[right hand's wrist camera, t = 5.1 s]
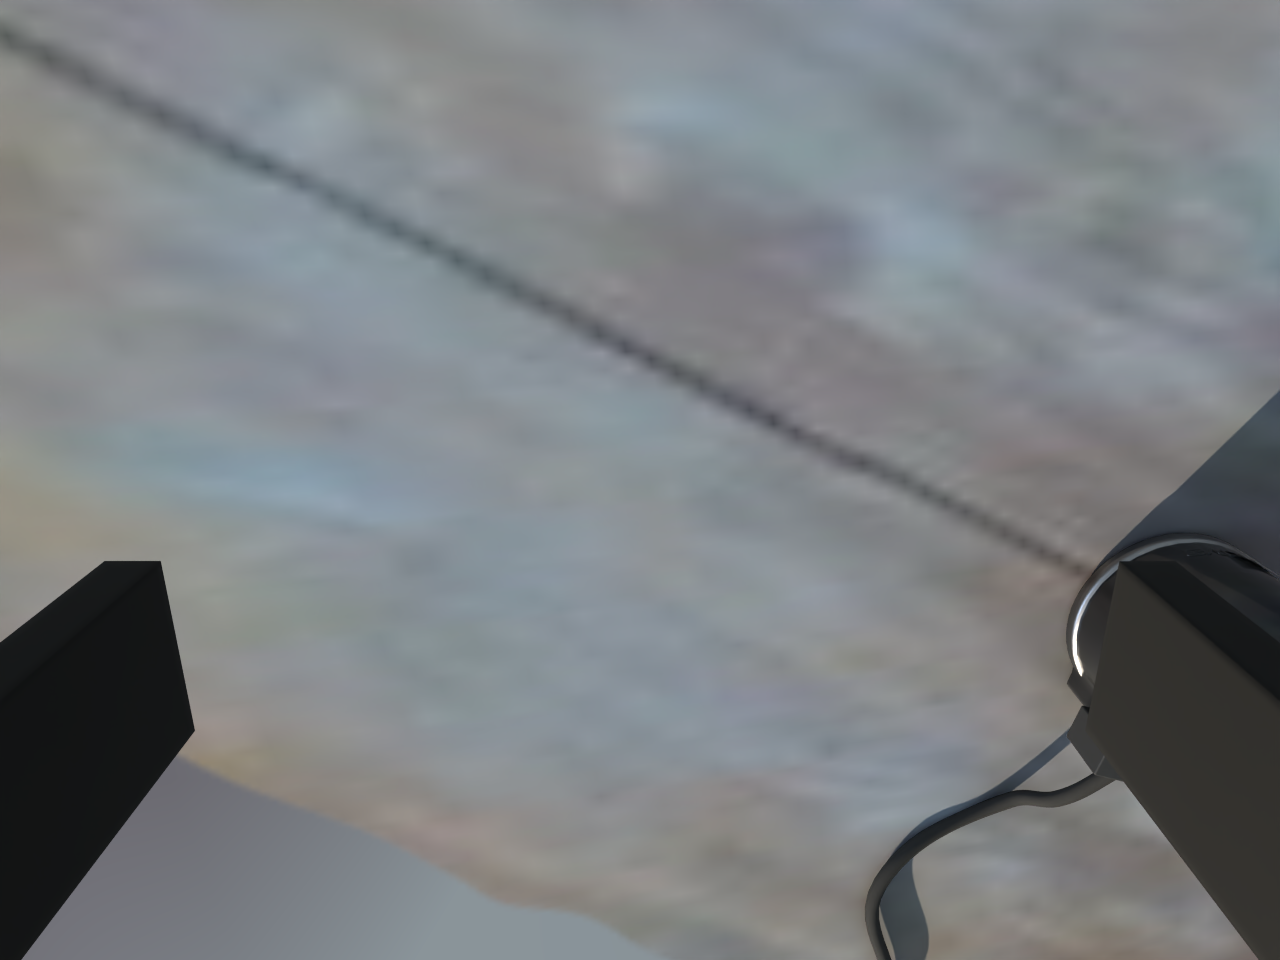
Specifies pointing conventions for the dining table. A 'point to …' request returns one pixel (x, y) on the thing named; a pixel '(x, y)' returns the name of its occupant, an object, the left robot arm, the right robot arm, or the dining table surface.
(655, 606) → the dining table surface
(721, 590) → the dining table surface
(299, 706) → the dining table surface
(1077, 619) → the left robot arm
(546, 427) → the dining table surface
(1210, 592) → the right robot arm
